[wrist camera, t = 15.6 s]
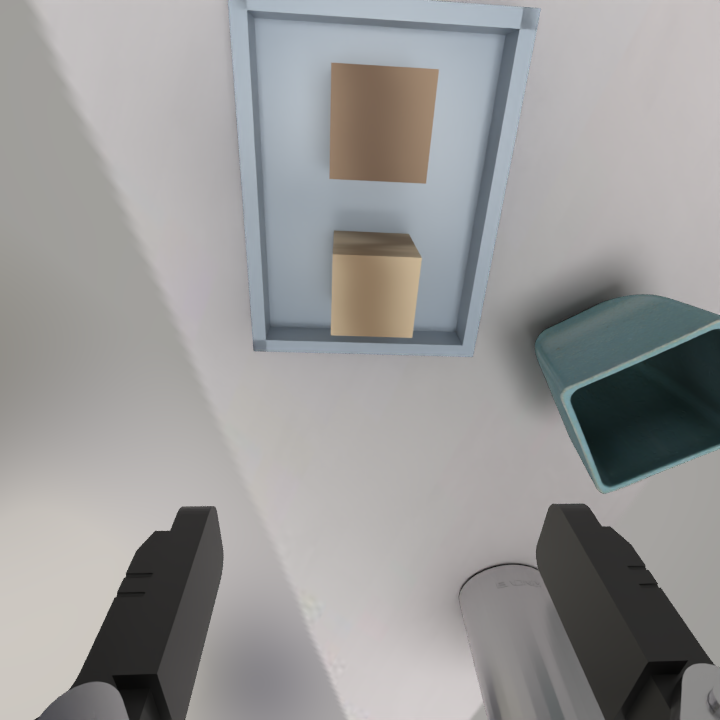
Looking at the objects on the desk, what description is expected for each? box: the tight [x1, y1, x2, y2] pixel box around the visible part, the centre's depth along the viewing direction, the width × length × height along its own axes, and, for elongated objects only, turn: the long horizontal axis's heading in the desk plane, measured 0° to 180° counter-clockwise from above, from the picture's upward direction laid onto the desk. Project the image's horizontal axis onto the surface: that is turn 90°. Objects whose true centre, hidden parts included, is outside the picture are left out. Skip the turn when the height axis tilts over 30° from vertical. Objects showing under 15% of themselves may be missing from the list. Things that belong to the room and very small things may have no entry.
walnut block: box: [329, 63, 439, 184], centre depth 22 cm, size 4×4×5 cm
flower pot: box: [535, 295, 720, 494], centre depth 28 cm, size 9×9×9 cm
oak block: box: [331, 231, 422, 338], centre depth 26 cm, size 4×4×5 cm
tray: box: [228, 0, 541, 357], centre depth 26 cm, size 18×14×3 cm
